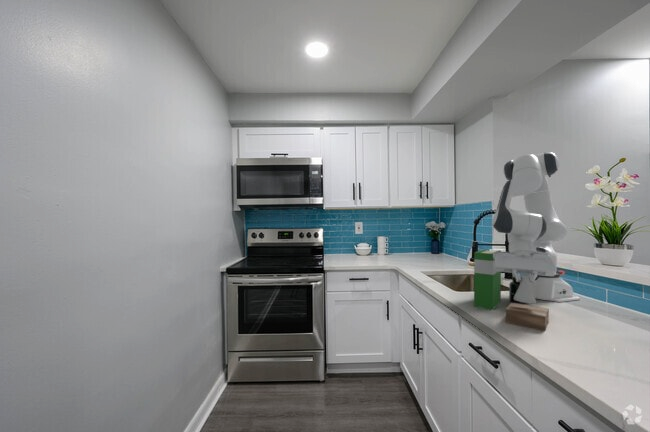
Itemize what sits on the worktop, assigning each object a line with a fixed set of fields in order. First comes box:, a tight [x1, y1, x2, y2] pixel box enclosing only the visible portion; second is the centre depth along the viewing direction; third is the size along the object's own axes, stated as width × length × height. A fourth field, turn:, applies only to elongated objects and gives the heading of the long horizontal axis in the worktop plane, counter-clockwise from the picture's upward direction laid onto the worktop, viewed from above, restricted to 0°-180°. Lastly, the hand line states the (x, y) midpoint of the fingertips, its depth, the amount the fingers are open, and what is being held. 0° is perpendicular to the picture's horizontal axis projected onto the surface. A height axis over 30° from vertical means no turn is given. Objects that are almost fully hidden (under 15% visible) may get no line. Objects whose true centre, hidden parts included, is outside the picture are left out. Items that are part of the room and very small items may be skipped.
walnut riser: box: [505, 302, 550, 332], centre depth 110 cm, size 12×12×5 cm
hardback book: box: [473, 249, 502, 311], centre depth 134 cm, size 18×7×24 cm, turn 140°
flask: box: [514, 273, 537, 304], centre depth 111 cm, size 7×7×10 cm
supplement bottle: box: [508, 275, 527, 305], centre depth 136 cm, size 7×7×12 cm
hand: (525, 281), depth 110 cm, fingers closed on flask, 3 cm apart
